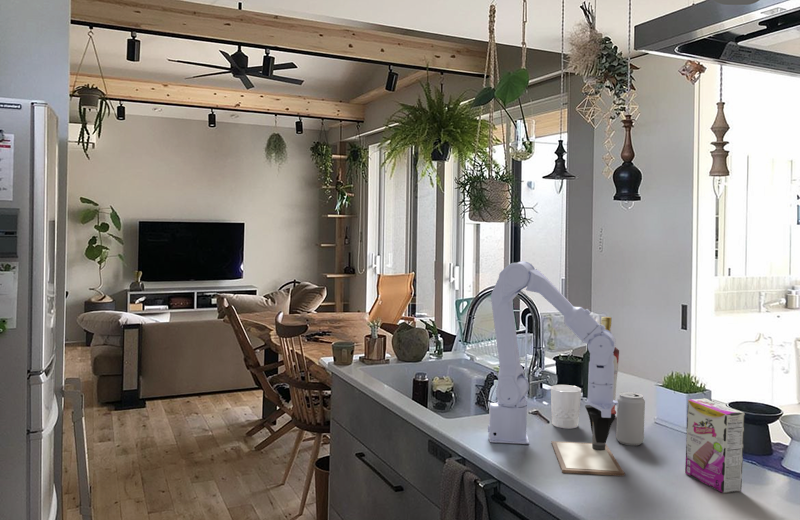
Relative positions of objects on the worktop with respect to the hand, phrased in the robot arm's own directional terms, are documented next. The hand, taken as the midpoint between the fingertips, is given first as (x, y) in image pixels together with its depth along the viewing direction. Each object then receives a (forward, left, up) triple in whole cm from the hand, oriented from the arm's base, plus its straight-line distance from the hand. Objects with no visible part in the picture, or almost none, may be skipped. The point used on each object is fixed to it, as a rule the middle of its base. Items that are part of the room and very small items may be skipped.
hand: (599, 439), depth 154 cm
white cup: (-5, +20, -3) cm, 21 cm away
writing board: (-4, -6, -3) cm, 7 cm away
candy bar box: (+20, -16, -3) cm, 26 cm away
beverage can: (+9, +8, -3) cm, 12 cm away
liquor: (+7, +30, -3) cm, 31 cm away
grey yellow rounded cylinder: (0, 0, -2) cm, 2 cm away
